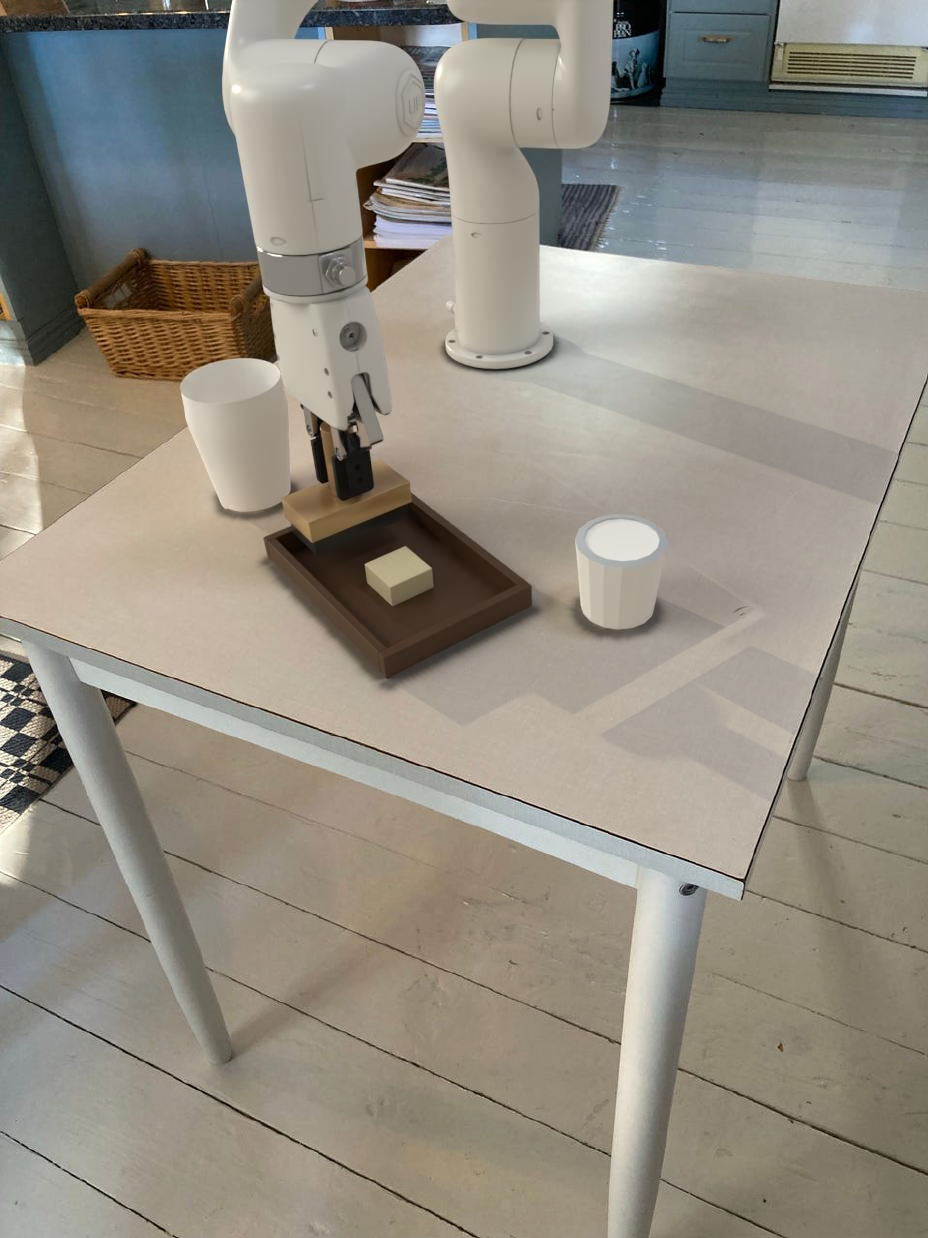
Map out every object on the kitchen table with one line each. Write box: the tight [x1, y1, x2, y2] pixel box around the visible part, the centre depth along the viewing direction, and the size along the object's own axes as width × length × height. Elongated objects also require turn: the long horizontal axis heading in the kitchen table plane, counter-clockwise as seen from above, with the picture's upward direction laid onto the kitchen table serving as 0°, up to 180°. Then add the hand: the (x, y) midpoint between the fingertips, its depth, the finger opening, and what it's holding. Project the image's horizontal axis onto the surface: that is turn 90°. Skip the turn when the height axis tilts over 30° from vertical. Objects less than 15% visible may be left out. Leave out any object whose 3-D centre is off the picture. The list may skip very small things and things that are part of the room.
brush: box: [281, 421, 412, 555], centre depth 82 cm, size 5×10×10 cm, turn 125°
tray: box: [262, 492, 533, 680], centre depth 82 cm, size 20×14×3 cm
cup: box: [179, 357, 291, 513], centre depth 90 cm, size 9×9×12 cm
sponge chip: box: [365, 546, 434, 606], centre depth 81 cm, size 4×4×2 cm
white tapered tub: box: [574, 513, 669, 630], centre depth 76 cm, size 7×7×7 cm
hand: (345, 483), depth 82 cm, fingers closed on brush, 2 cm apart
